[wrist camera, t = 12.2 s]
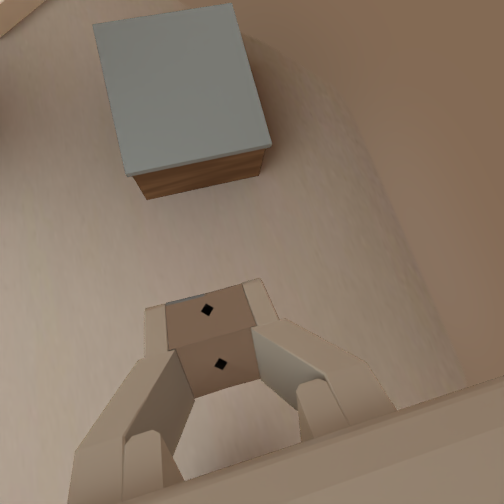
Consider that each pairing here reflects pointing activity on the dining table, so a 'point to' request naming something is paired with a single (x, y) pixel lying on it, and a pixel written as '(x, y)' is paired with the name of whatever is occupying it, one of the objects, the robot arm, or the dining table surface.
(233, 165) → the box
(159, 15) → the lid
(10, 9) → the bracket
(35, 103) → the dining table surface
